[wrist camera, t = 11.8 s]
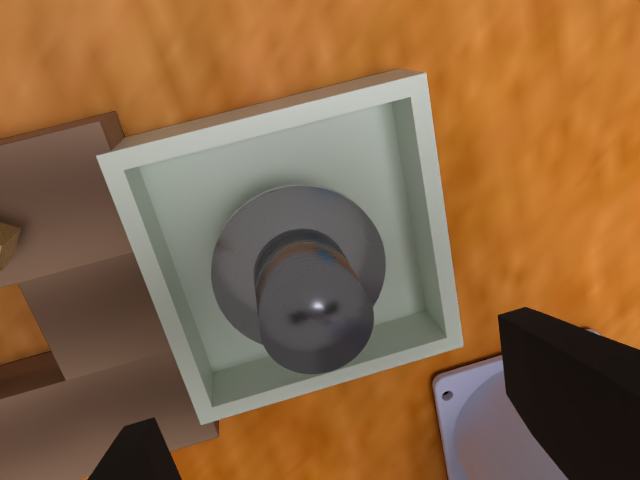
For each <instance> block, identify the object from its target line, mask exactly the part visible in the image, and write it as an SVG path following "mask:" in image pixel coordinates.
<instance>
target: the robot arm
mask: <svg viewBox="0 0 640 480" xmlns="http://www.w3.org/2000/svg"><path fill="white" fill-rule="evenodd" d="M498 321H499V331H500V340H501V350H502V355H500V356H497V357H493V358H490V359H487V360H484V361H480V362H477V363H474V364H470V365H467V366H464V367H460V368H457V369H454V370H450V371H447V372H444V373H441V374H439V375H437V376H436V377H435V378H434V380H433V383H432V386H433V392H434V398H435V404H436V410H437V416H438V422H439V427H440V433H441V439H442V445H443V451H444V457H445V463H446V468H447V474H448V480H640V350H639V349H636V348H633V347H630V346H627V345H625V344H622V343H619V342H617V341H614V340H611V339H609V338H606V337H603V336H601V335H600V334H599V333H598V332H596V331H595V330H593V329H586V330H585V329H583V328H580V327H577V326H575V325H572V324H570V323H567V322H565V321H562V320H560V319H557V318H554V317H552V316H549V315H547V314H544V313H541V312H539V311H536V310H533V309H530V308H527V307H524V308H520V309H517V310H514V311H510V312H507V313H504V314H500V315H498ZM446 391H449V392H448V394H446V395H442V394H443V393H444V392H446ZM88 480H182V479H181V477H180V475H179V472H178V470H177V468H176V465H175V463H174V461H173V458H172V456H171V454H170V451H169V449H168V447H167V444H166V442H165V440H164V437H163V435H162V433H161V430H160V428H159V426H158V423H157V421H156V419H155V417H153V418H150V419H147V420H143V421H140V422H136V423H133V424H130V425H126V426H124V427H123V428H122V430H121V431H120V432H119V434H118V435H117V437H116V438H115V440H114V441H113V442H112V444H111V445H110V447H109V448H108V450H107V451H106V453H105V454H104V456H103V457H102V459H101V460H100V462H99V463H98V465H97V466H96V468H95V469H94V471H93V472H92V474H91V475H90V477H89V478H88Z"/></svg>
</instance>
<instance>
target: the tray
mask: <svg viewBox="0 0 640 480" xmlns="http://www.w3.org/2000/svg"><path fill="white" fill-rule="evenodd" d="M96 157H97V160H98V163H99V165H100V168H101V170H102V173H103V175H104V178H105V181H106V183H107V186H108V188H109V191H110V193H111V196H112V198H113V201H114V204H115V206H116V209H117V211H118V214H119V216H120V219H121V222H122V224H123V227H124V229H125V232H126V234H127V237H128V240H129V242H130V245H131V247H132V250H133V252H134V255H135V257H136V260H137V263H138V265H139V268H140V270H141V273H142V275H143V278H144V281H145V283H146V286H147V288H148V291H149V293H150V296H151V298H152V301H153V304H154V306H155V309H156V311H157V314H158V316H159V319H160V322H161V324H162V327H163V329H164V332H165V334H166V337H167V339H168V342H169V345H170V347H171V350H172V352H173V355H174V357H175V360H176V363H177V365H178V368H179V370H180V373H181V375H182V378H183V380H184V383H185V386H186V388H187V391H188V393H189V396H190V398H191V401H192V404H193V406H194V409H195V411H196V414H197V416H198V419H199V421H200V424H201V425H203V424H207V423H210V422H213V421H217V420H220V419H223V418H227V417H230V416H233V415H237V414H240V413H243V412H247V411H250V410H253V409H257V408H260V407H263V406H267V405H270V404H273V403H277V402H280V401H284V400H287V399H290V398H294V397H297V396H300V395H304V394H307V393H310V392H314V391H317V390H320V389H324V388H327V387H330V386H334V385H337V384H340V383H344V382H347V381H350V380H354V379H357V378H360V377H364V376H367V375H370V374H374V373H377V372H380V371H384V370H387V369H390V368H394V367H397V366H400V365H404V364H407V363H410V362H414V361H417V360H420V359H424V358H427V357H431V356H434V355H437V354H441V353H444V352H447V351H451V350H454V349H457V348H461V347H464V344H463V337H462V329H461V322H460V315H459V307H458V300H457V293H456V286H455V278H454V271H453V264H452V257H451V249H450V242H449V235H448V228H447V220H446V213H445V206H444V198H443V191H442V184H441V177H440V169H439V162H438V155H437V148H436V140H435V133H434V126H433V119H432V111H431V104H430V97H429V89H428V82H427V75H426V73H425V72H418V71H411V70H404V69H396V70H392V71H388V72H384V73H380V74H376V75H372V76H368V77H364V78H360V79H356V80H352V81H348V82H344V83H340V84H336V85H332V86H328V87H324V88H320V89H316V90H312V91H308V92H304V93H300V94H296V95H292V96H288V97H284V98H280V99H276V100H272V101H268V102H264V103H260V104H256V105H252V106H248V107H244V108H240V109H236V110H232V111H228V112H224V113H220V114H216V115H212V116H208V117H204V118H200V119H196V120H192V121H188V122H184V123H180V124H176V125H172V126H168V127H164V128H160V129H156V130H153V131H149V132H145V133H141V134H137V135H133V136H129V137H125V138H124V139H123V140H122V141H121V142H120V143H119V144H118V145H117V146H116V147H115V148H114V149H113V150H112V151H110V152H106V153H102V154H98V155H96ZM289 184H313V185H319V186H323V187H327V188H330V189H333V190H335V191H337V192H339V193H342V194H343V195H345V196H346V197H348V198H350V199H351V200H352V201H354V202H355V203H356V204H357V205H358V206H360V208H361V209H362V210H363V211H364V212H365V213H366V214H367V216H368V217H369V218H370V219H371V221H372V222H373V224H374V225H375V227H376V228H377V230H378V232H379V234H380V237H381V239H382V243H383V246H384V251H385V257H386V271H385V279H384V283H383V287H382V290H381V292H380V295H379V297H378V299H377V301H376V303H375V305H374V307H373V311H374V325H373V330H372V333H371V336H370V338H369V341H368V342H367V344H366V346H365V347H364V349H363V350H362V351H361V352H360V353H359V354H358V356H357V357H355V358H354V359H353V360H352V361H351V362H349V363H348V364H346V365H344V366H343V367H341V368H339V369H336V370H334V371H331V372H327V373H322V374H302V373H297V372H294V371H291V370H288V369H286V368H284V367H282V366H281V365H279V364H278V363H277V362H276V361H274V360H273V359H272V358H271V356H270V355H269V354H268V353H267V351H266V349H265V348H264V345H262V344H259V343H257V342H255V341H253V340H251V339H249V338H248V337H246V336H245V335H243V334H241V333H240V332H239V331H238V330H237V329H236V328H234V327H233V326H232V324H231V323H230V322H229V321H228V320H227V319H226V317H225V316H224V314H223V313H222V311H221V310H220V308H219V306H218V303H217V301H216V299H215V295H214V292H213V288H212V281H211V264H212V256H213V250H214V247H215V244H216V240H217V238H218V236H219V234H220V231H221V230H222V228H223V226H224V225H225V223H226V222H227V220H228V219H229V218H230V217H231V215H232V214H233V213H234V212H235V211H236V210H237V209H238V208H239V207H240V206H241V205H243V204H244V203H245V202H247V201H248V200H249V199H251V198H252V197H254V196H256V195H258V194H260V193H262V192H264V191H266V190H269V189H272V188H275V187H279V186H283V185H289Z"/></svg>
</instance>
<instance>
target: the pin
mask: <svg viewBox="0 0 640 480" xmlns="http://www.w3.org/2000/svg"><path fill="white" fill-rule="evenodd" d="M385 271H386V257H385V251H384V246H383V243H382V239H381V237H380V234H379V232H378V230H377V228H376V227H375V225H374V224H373V222H372V221H371V219H370V218H369V217H368V216H367V214H366V213H365V212H364V211H363V210H362V209H361V208H360V206H358V205H357V204H356V203H355V202H354V201H352V200H351V199H350V198H348V197H346V196H345V195H343V194H342V193H339V192H337V191H335V190H333V189H330V188H327V187H323V186H319V185H313V184H289V185H283V186H279V187H275V188H272V189H269V190H266V191H264V192H262V193H260V194H258V195H256V196H254V197H252V198H251V199H249V200H248V201H247V202H245V203H244V204H243V205H241V206H240V207H239V208H238V209H237V210H236V211H235V212H234V213H233V214H232V215H231V217H230V218H229V219H228V220H227V222H226V223H225V225H224V226H223V228H222V230H221V231H220V234H219V236H218V238H217V240H216V244H215V247H214V250H213V256H212V264H211V281H212V288H213V292H214V295H215V299H216V301H217V303H218V306H219V308H220V310H221V311H222V313H223V314H224V316H225V317H226V319H227V320H228V321H229V322H230V323H231V324H232V326H233V327H234V328H236V329H237V330H238V331H239V332H240V333H241V334H243V335H245V336H246V337H248V338H249V339H251V340H253V341H255V342H257V343H259V344H262V345H264V348H265V349H266V351H267V353H268V354H269V355H270V356H271V358H272V359H273V360H274V361H276V362H277V363H278V364H279V365H281V366H282V367H284V368H286V369H288V370H291V371H294V372H297V373H302V374H322V373H327V372H331V371H334V370H336V369H339V368H341V367H343V366H344V365H346V364H348V363H349V362H351V361H352V360H353V359H354V358H355V357H357V356H358V354H359V353H360V352H361V351H362V350H363V349H364V347H365V346H366V344H367V342H368V341H369V338H370V336H371V333H372V330H373V325H374V311H373V307H374V305H375V303H376V301H377V299H378V297H379V295H380V292H381V290H382V287H383V283H384V279H385Z"/></svg>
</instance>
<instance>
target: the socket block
mask: <svg viewBox="0 0 640 480" xmlns="http://www.w3.org/2000/svg"><path fill="white" fill-rule="evenodd" d="M124 138H125V136H124V133H123V131H122V128H121V125H120V122H119V120H118V117H117V114H116V111H114V112H110V113H106V114H101V115H97V116H93V117H89V118H85V119H81V120H77V121H73V122H69V123H65V124H61V125H57V126H53V127H49V128H45V129H41V130H36V131H32V132H28V133H24V134H20V135H16V136H12V137H8V138H4V139H0V223H4V224H7V225H11V226H14V227H17V228H21V230H20V233H19V237H18V241H17V245H16V248H15V252H14V256H13V260H12V261H11V262H10V263H9V264H8V265H7V266H6V267H5V268H4V269H3V270H2V271H1V272H0V288H1V287H5V286H9V285H12V284H16V283H18V285H19V287H20V289H21V291H22V293H23V295H24V297H25V299H26V301H27V303H28V305H29V307H30V309H31V311H32V313H33V315H34V317H35V319H36V321H37V323H38V325H39V327H40V329H41V331H42V333H43V335H44V337H45V339H46V341H47V343H48V345H49V347H50V349H51V351H50V352H47V353H43V354H40V355H36V356H33V357H29V358H25V359H22V360H18V361H15V362H11V363H8V364H4V365H1V366H0V480H78V479H81V478H85V477H88V476H90V475H91V474H92V472H93V471H94V469H95V468H96V466H97V465H98V463H99V462H100V460H101V459H102V457H103V456H104V454H105V453H106V451H107V450H108V448H109V447H110V445H111V444H112V442H113V441H114V440H115V438H116V437H117V435H118V434H119V432H120V431H121V430H122V428H123V427H124V426H126V425H130V424H133V423H136V422H140V421H143V420H147V419H150V418H153V417H155V419H156V421H157V423H158V426H159V428H160V430H161V433H162V435H163V437H164V440H165V442H166V444H167V447H168V449H169V451H170V452H171V451H174V450H177V449H181V448H184V447H187V446H191V445H194V444H197V443H201V442H204V441H207V440H211V439H214V438H217V437H219V420H217V421H213V422H210V423H207V424H203V425H201V424H200V421H199V419H198V416H197V414H196V411H195V409H194V406H193V404H192V401H191V398H190V396H189V393H188V391H187V388H186V386H185V383H184V380H183V378H182V375H181V373H180V370H179V368H178V365H177V363H176V360H175V357H174V355H173V352H172V350H171V347H170V345H169V342H168V339H167V337H166V334H165V332H164V329H163V327H162V324H161V322H160V319H159V316H158V314H157V311H156V309H155V306H154V304H153V301H152V298H151V296H150V293H149V291H148V288H147V286H146V283H145V281H144V278H143V275H142V273H141V270H140V268H139V265H138V263H137V260H136V257H135V255H134V252H133V250H132V247H131V245H130V242H129V240H128V237H127V234H126V232H125V229H124V227H123V224H122V222H121V219H120V216H119V214H118V211H117V209H116V206H115V204H114V201H113V198H112V196H111V193H110V191H109V188H108V186H107V183H106V181H105V178H104V175H103V173H102V170H101V168H100V165H99V163H98V160H97V157H96V155H98V154H102V153H106V152H110V151H112V150H113V149H114V148H115V147H116V146H117V145H118V144H119V143H120V142H121V141H122V140H123V139H124Z"/></svg>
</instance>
